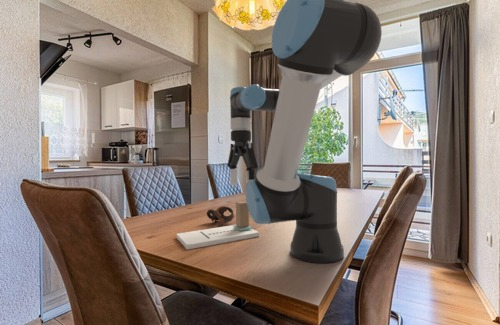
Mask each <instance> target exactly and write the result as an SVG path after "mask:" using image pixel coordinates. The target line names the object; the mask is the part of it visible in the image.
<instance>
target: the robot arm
mask: <svg viewBox="0 0 500 325" xmlns="http://www.w3.org/2000/svg"><path fill="white" fill-rule="evenodd" d="M381 40H382V25H381V21H380V19H379V17H378V15H377V13H376V12H375V11H374V10H373V9H372V8H370V7H369V6H368V5H366V4H363V3H359V2H353V1H349V0H286V1H285V3H284V4H283V5H282V7H281V9H280V10H279V12H278V14H277V16H276V19H275V22H274V26H273V30H272V34H271V42H272V43H271V49H272V53H273V54H274V56H276V57H277V58H278V61H277V66H278V68H279V70H280V71H281V72H282V78H281V82H280V87H279V89H277V88H275V89H274V88H264V87H263V86H260V85H259V84H250V85H248V86H236V87H233V88H231V89H230V96H229V101H230V102H229V104H230V109H229V110H230V130H231V132H230V140H231V141H232V142H234V143H230V147H229V148H230V150H229V155H228V161H227V167H228V168H229V171H230V172H229V174H230V176H229V178H230V179H229V180H230V186H238V165H239V164H238V163H239V160H240V158H241V157H242V159H243V162H244V164H245V167H246V169H245V172H246V174H245V179H246V182H245V183H246V184H245V192H244V194H245V202H247V207H248V210H249V217H250V218H251V219H252V220H253V222H254V223H256V224H258V225H259V224H260V225H263V224H264V225H266V224H268V225H270V224H275V223H277V224H278V223H283V222H293V221H295V228H294V233H293V237H292V241H290V248H289V249H290V254H291V255H292V257H294V258H296V259H298V260H301V261H304V262H309V263H315V264H330V263H335V262H338V261H341V260H343V258H344V257H345V255H344V254H345V249H344V245H343V244H342V240H341V235H340V233H339V230H338V190H337V181H336V179H335V178H334V177H332V176H326V175H325V176H324V175H316V174H306V173H299V172H298V171H299V168H300V164H301V160H302V157H303V153H304V149H305V146H306V142H307V138H308V135H309V132H310V128H311V124H312V121H313V117H314V114H315V109H316V106H317V103H318V99H319V95H320V92H321V90H322V89H324V88H325V87H326V86H328V85H329V84H331V83H332V82H334V81H336V80H337V79H339V78H340V77H342V76H344V77H346V76H347V77H348V76H351V75H352V74H354V73H356V72H357V71H359V70H360V69H362V68H363V67H365V65H367V64H368V63H369V62H370V61H371V60H372V59H373V57H374V56H375V54H376V53H377V51H378V49H379V47H380V43H381ZM252 111H254V112H255V111H259V112H274V116H273V121H272V127H271V131H270V135H269V139H268V146H267V150H266V156H265V161H264V166H263V167H261V168H259V165H258V162H257V158H256V154H255V150H254V143H253V142H250V141H252V131H251V126H252V125H251V124H252V121H251V120H252V116H251V115H252V114H251V112H252ZM258 168H259V169H258ZM256 170H257V171H256ZM255 171H256V174H255Z"/></svg>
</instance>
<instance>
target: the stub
mask: <svg viewBox="0 0 500 325" xmlns="http://www.w3.org/2000/svg"><path fill="white" fill-rule="evenodd" d="M249 217H250V213H249V210H248V207H247V202H246V200H245V201H237V202H235V221H236V222H235V224H232V225H233V227H234V228H236V229H238V230H240V231H242V230H248V229H253V226H250V218H249Z"/></svg>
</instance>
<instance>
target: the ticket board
mask: <svg viewBox="0 0 500 325" xmlns="http://www.w3.org/2000/svg"><path fill="white" fill-rule="evenodd" d="M233 225H234V224H231V225H226V226H224V225H223V226H219V227H213V228H212V227H211V228H205V229H199V230H191V231H185V232H179V233H176V239H177V240H178V241H179V242H180V243H181V244H182V245H183V247H184V248H185V249H186V250H192V249H197V248H198V249H199V248H203V247H204V248H205V247H208V246H209V247H210V246H214V245H219V244H225V243H230V242H231V243H232V242H235V241H243V240H247V239H253V238H258V237H260V232H259V231H258V230H255V229H253V228H252V229H248V230H242V231H240V230H238V229H236V228H234V227H233Z"/></svg>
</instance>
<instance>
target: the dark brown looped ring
mask: <svg viewBox="0 0 500 325" xmlns="http://www.w3.org/2000/svg"><path fill="white" fill-rule="evenodd" d="M206 211H207V212H206V216H207V218H209V219H210V220H211V221H212V223H213V222H215V223H216V222H218V221H219V222H218V225H219V226H220V227H223V226H224V224H227V223H229V222H232V220H234V217H235V216H234V211H233V209H232V208H231V207H229V206H224V205H221V206H218V207H217V209H216V210H215V209H208V210H206ZM227 211H228V212H229V213H230V214H228V215H224V213H225V212H227Z"/></svg>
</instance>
